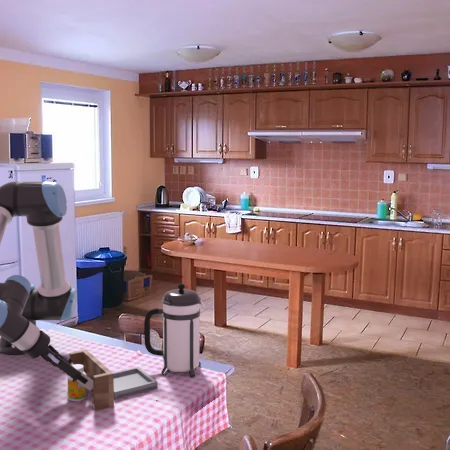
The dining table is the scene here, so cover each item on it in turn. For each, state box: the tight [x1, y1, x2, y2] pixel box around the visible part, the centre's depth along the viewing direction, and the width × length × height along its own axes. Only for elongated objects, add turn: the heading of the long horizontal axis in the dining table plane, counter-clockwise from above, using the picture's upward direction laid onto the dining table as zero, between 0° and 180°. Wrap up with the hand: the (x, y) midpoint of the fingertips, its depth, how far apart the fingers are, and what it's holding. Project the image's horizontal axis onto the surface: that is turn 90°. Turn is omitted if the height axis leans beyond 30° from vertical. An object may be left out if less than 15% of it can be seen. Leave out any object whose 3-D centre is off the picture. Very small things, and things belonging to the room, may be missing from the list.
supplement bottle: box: [67, 364, 88, 402], centre depth 166 cm, size 5×5×10 cm
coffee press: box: [143, 282, 206, 378], centre depth 185 cm, size 17×16×30 cm
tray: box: [112, 366, 158, 400], centre depth 175 cm, size 14×14×2 cm
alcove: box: [69, 349, 115, 412], centre depth 168 cm, size 22×6×10 cm, turn 33°
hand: (88, 382), depth 168 cm, fingers open, 7 cm apart
